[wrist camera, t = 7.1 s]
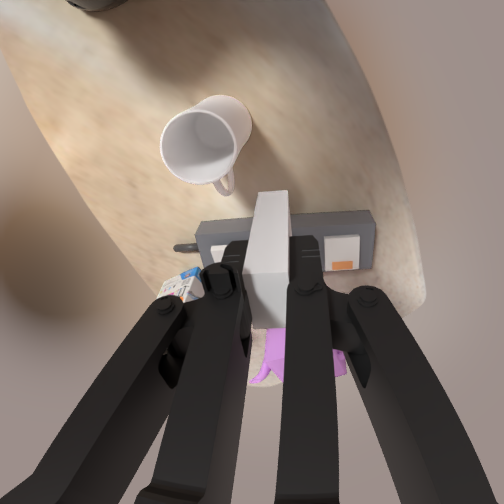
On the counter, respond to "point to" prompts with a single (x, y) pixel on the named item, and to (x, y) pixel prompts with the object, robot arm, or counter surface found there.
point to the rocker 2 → (341, 252)
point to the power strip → (300, 226)
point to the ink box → (184, 286)
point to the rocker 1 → (217, 252)
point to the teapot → (277, 353)
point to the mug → (206, 141)
